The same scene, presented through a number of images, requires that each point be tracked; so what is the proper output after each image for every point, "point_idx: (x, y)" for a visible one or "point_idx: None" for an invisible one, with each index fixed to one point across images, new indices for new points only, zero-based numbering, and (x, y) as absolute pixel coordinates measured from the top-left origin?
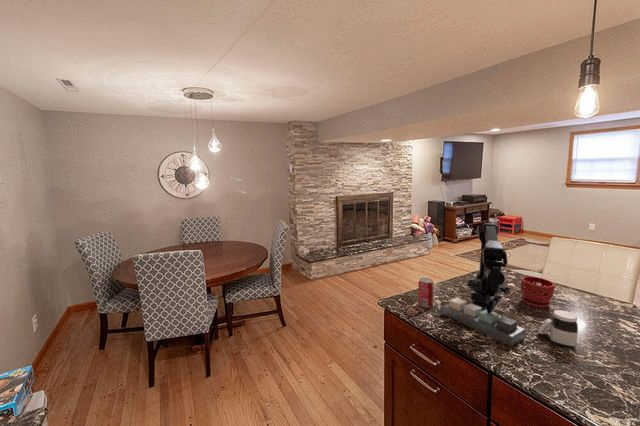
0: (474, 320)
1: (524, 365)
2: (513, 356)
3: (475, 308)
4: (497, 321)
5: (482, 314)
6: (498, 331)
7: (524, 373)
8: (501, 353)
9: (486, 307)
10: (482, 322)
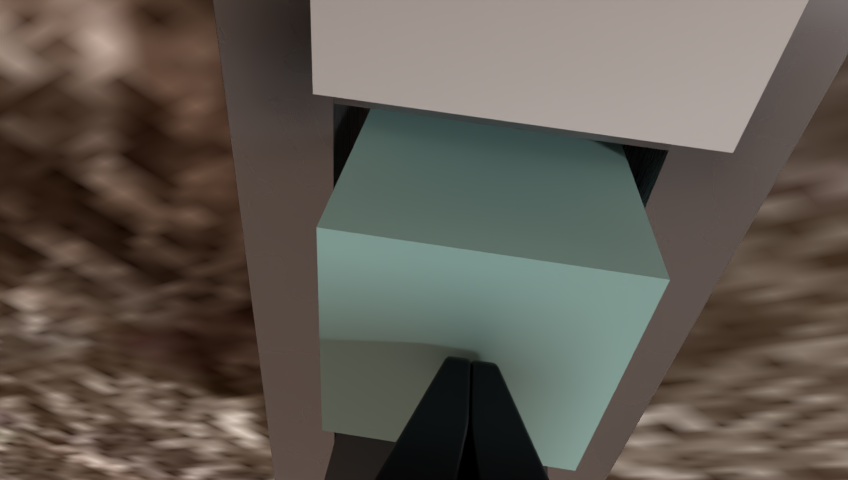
0: (223, 82)
1: (160, 470)
2: (187, 424)
3: (491, 25)
4: (330, 457)
5: (325, 269)
6: (268, 398)
7: (84, 477)
8: (131, 371)
9: (381, 477)
10: (286, 216)
